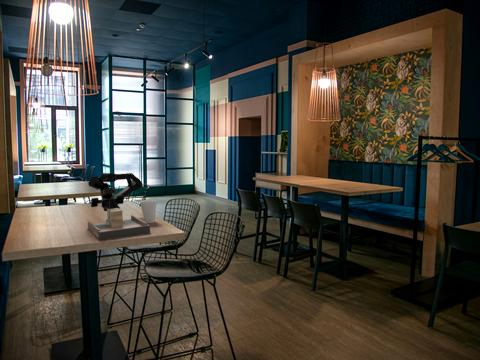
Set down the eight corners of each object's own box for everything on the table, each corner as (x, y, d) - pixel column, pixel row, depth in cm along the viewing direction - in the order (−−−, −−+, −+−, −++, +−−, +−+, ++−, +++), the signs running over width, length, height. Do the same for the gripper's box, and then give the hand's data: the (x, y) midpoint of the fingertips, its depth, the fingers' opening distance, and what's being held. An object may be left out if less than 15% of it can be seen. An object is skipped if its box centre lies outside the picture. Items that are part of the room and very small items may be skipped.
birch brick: (108, 224, 226) (107, 209, 225) (118, 223, 229) (117, 207, 228) (112, 227, 218) (111, 211, 217) (123, 226, 221) (122, 210, 220)
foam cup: (140, 221, 244) (139, 200, 242) (155, 219, 247) (154, 199, 246) (142, 224, 235) (141, 202, 233) (158, 222, 238) (157, 201, 237)
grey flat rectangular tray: (88, 228, 226) (87, 220, 226) (133, 222, 240) (132, 215, 239) (100, 240, 198) (99, 231, 198) (150, 232, 211) (149, 224, 211)
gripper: (89, 184, 229) (94, 205, 221) (122, 181, 238) (128, 202, 230) (88, 196, 237) (93, 217, 228) (120, 193, 246) (125, 213, 238)
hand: (110, 212), depth 231 cm, fingers closed
